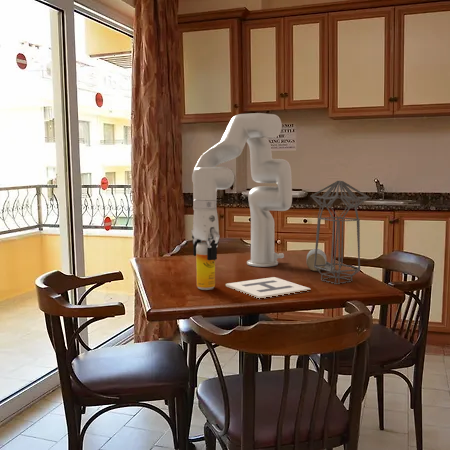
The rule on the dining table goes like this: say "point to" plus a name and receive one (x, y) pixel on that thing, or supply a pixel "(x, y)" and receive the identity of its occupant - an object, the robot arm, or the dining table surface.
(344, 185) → the geometric lantern
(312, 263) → the ceramic mug
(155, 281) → the dining table surface
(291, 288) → the letter board
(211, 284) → the beer can
